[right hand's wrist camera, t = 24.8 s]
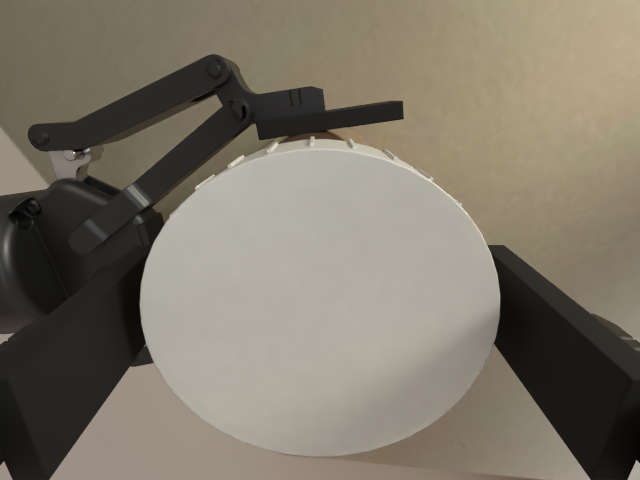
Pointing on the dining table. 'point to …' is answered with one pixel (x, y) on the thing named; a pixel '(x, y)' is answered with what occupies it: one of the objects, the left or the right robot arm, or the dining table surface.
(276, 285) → the lid
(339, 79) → the dining table surface
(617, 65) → the dining table surface
